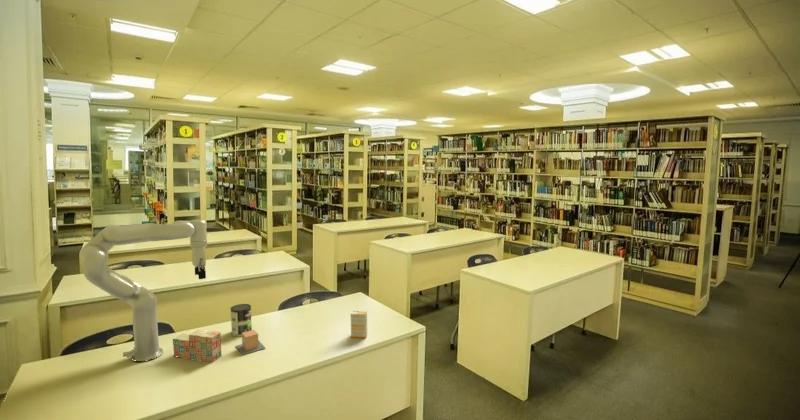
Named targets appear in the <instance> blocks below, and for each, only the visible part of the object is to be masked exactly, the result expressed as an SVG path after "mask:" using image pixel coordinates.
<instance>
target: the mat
mask: <svg viewBox="0 0 800 420" xmlns="http://www.w3.org/2000/svg"><path fill="white" fill-rule="evenodd" d="M258 345H259V347H258V348H254V349H251V350H247V351H246V350H245V349H244V348H243V346H242V343H241V344H238V345H235V348H236V349H237V350H238V352H239V353H240V354H241V356H245V355H248V354H252V353H255V352H258V351H262V350H266V347H265V346H264V344H263V343H262V342H261V341H260V340H259V339H258Z"/></svg>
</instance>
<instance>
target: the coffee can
mask: <svg viewBox="0 0 800 420" xmlns="http://www.w3.org/2000/svg"><path fill="white" fill-rule="evenodd" d="M230 321H231V322H230V324H231V325H230V326H231V335H232V336H235V337H242V333H243V332H247V331H251V330H253V328H252V327H253V326H252V325H253V324H252V305H251V304H250V303H240V304H235V305H232V306H231V307H230Z"/></svg>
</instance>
